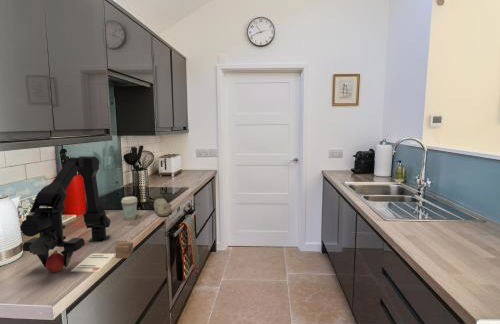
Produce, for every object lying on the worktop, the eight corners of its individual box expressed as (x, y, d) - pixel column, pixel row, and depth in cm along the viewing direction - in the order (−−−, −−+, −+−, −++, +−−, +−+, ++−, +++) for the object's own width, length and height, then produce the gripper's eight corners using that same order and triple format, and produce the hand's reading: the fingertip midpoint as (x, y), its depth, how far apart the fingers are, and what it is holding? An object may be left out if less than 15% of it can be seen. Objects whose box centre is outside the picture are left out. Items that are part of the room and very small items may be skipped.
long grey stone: (167, 203, 195) (152, 205, 192) (166, 195, 195) (151, 197, 191) (174, 215, 163) (156, 218, 159) (173, 206, 163) (155, 209, 159)
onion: (46, 278, 96) (44, 256, 95) (46, 271, 101) (44, 250, 100) (66, 273, 100) (64, 252, 99) (65, 266, 104) (64, 246, 103)
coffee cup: (120, 221, 153) (119, 200, 151) (124, 216, 161) (123, 196, 160) (136, 220, 155) (135, 199, 153) (139, 215, 163) (138, 195, 161)
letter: (92, 254, 114) (92, 253, 114) (116, 254, 114) (116, 253, 114) (70, 272, 100) (70, 271, 100) (98, 272, 101) (97, 271, 100)
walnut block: (121, 253, 116) (120, 241, 115) (133, 253, 116) (133, 242, 115) (115, 259, 111) (115, 247, 110) (128, 259, 111) (127, 247, 110)
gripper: (6, 233, 90) (11, 278, 92) (63, 234, 90) (67, 279, 92) (32, 221, 101) (36, 262, 103) (84, 222, 101) (86, 262, 103)
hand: (56, 266), depth 100 cm, fingers open, 7 cm apart
